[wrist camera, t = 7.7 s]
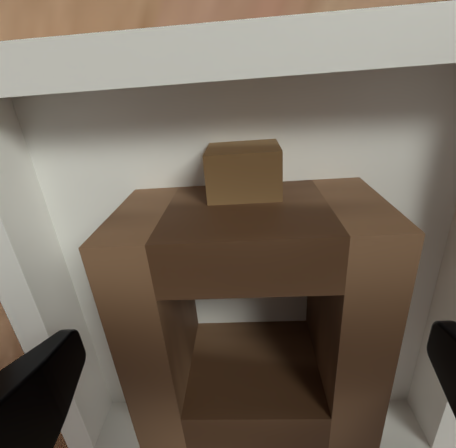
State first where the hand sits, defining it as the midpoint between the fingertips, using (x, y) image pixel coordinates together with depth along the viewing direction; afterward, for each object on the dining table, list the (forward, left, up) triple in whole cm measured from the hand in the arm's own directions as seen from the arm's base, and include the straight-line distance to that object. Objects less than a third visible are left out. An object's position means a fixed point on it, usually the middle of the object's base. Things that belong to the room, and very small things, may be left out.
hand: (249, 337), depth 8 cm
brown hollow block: (0, 0, -2) cm, 3 cm away
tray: (0, 0, -3) cm, 3 cm away
